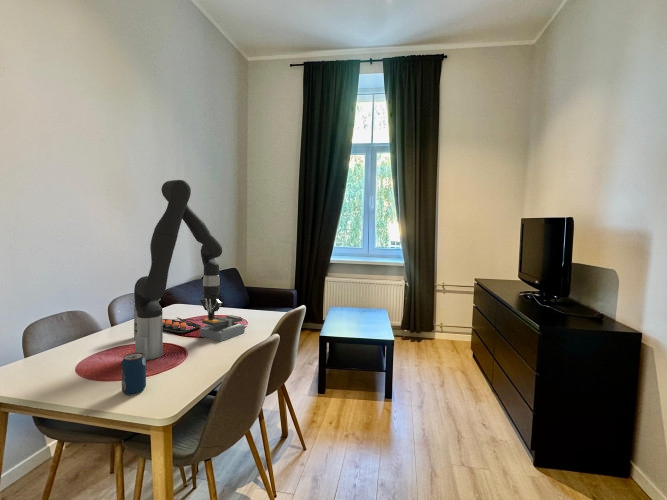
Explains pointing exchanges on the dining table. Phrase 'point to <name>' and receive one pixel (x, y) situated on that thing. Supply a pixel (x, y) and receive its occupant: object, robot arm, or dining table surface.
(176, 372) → the dining table surface
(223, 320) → the breaker rocker
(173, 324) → the sushi plate
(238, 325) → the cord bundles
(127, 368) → the soda can
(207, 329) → the switch box
